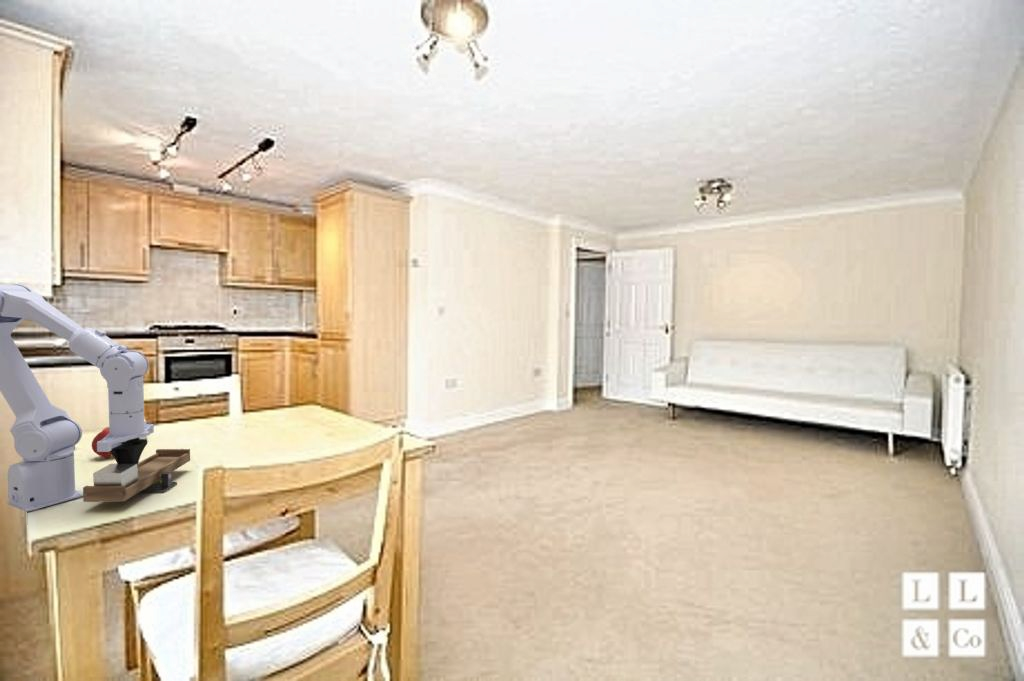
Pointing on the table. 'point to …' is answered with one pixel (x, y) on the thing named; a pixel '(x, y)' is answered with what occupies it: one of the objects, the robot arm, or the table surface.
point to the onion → (99, 438)
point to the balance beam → (140, 476)
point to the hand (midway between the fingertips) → (128, 476)
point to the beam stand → (161, 484)
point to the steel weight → (116, 475)
